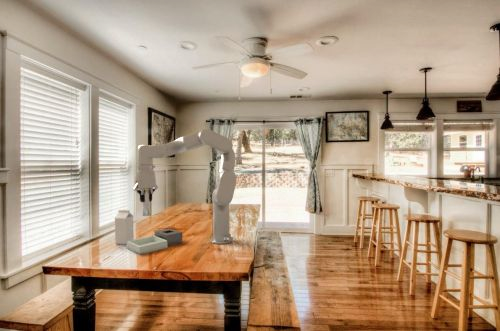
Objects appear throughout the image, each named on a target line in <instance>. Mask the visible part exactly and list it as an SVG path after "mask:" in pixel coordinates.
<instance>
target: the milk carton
mask: <svg viewBox="0 0 500 331" xmlns="http://www.w3.org/2000/svg"><path fill="white" fill-rule="evenodd" d="M130 211H131V210H128V209H119V210H118V213H117V214H116V215H115V217H114V234H115V235H114V238H115V239H114V241H115V242H114V243H115V244H116V245H127V241H130V240H135V238H134V237H135V236H134V235H135V234H134V215H133V214H132V213H131V212H130Z"/></svg>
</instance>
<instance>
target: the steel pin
mask: <svg viewBox="0 0 500 331" xmlns="http://www.w3.org/2000/svg"><path fill="white" fill-rule="evenodd" d="M143 195H144V202H142V216H143V217H149V216H150V215H151V213H150V212H151V208H150V205H151V203H150V202H151V201H150V195H149V189H148V188H147V189H144V192H143Z"/></svg>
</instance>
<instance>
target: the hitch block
mask: <svg viewBox="0 0 500 331" xmlns="http://www.w3.org/2000/svg"><path fill="white" fill-rule="evenodd" d="M153 232H154V235H153V236H156V237H159V238H162V239H164V240H167V247H169V246H174V245H178V244H181V243H183V232H182V231H180V230H178V229H177V230H176V229H173V228H170V227H169V228H164V229H160V230H154V231H153Z"/></svg>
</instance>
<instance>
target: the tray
mask: <svg viewBox="0 0 500 331" xmlns="http://www.w3.org/2000/svg"><path fill="white" fill-rule="evenodd" d="M126 249H127V250H129V251H131V252H132V253H135V254H137V255H139V256H141V255H145V254H148V253H153V252H156V251H160V250H165V249H168V246H167V240H164V239H162V238H159V237H156V236H155V235H149V236H144V237H140V238H134V240H130V241H127V244H126Z"/></svg>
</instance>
